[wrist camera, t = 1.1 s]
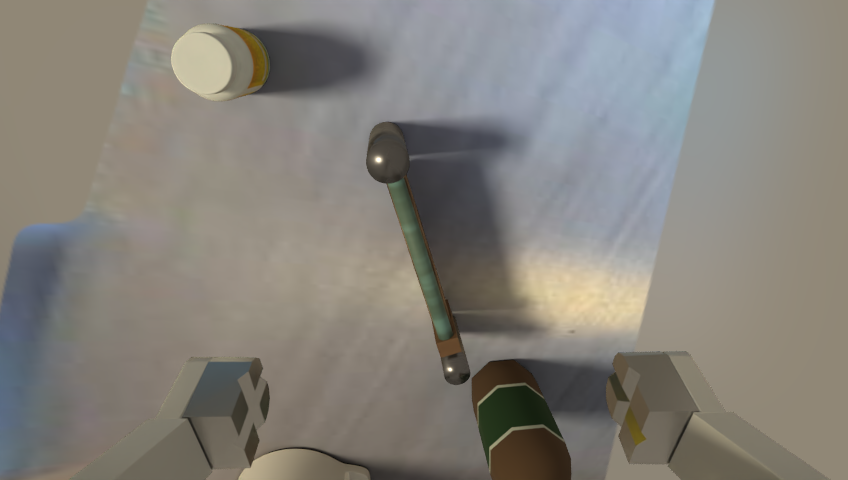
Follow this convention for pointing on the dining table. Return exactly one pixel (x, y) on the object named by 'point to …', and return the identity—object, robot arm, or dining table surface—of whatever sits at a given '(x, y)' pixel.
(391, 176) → the posts
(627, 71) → the dining table surface
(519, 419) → the beer bottle
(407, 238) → the brown wooden panel
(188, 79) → the supplement bottle
